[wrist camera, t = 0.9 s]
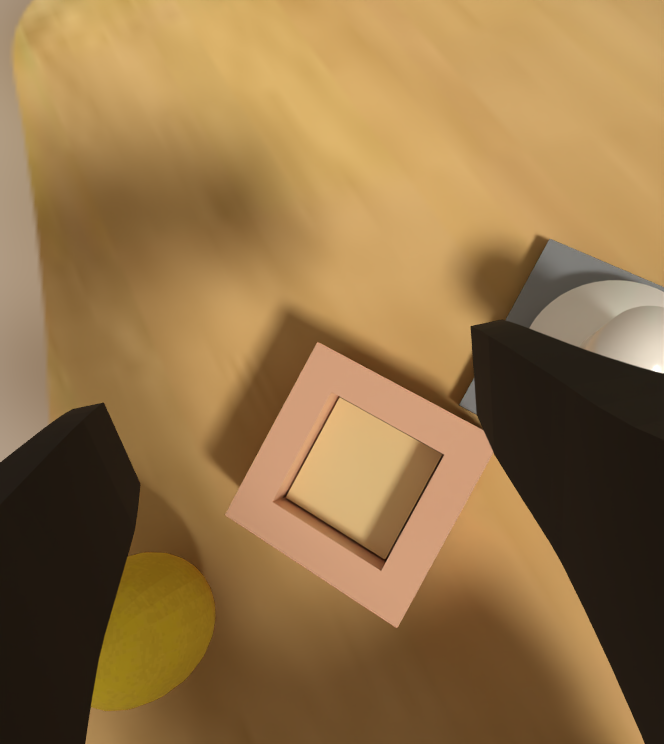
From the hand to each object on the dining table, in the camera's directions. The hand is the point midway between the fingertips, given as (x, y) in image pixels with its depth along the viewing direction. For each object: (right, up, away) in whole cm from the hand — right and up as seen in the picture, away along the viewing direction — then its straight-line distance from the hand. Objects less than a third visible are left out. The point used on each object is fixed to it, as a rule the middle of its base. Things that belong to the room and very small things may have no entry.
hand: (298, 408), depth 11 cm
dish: (+2, -4, +14) cm, 15 cm away
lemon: (-6, -10, +16) cm, 20 cm away
